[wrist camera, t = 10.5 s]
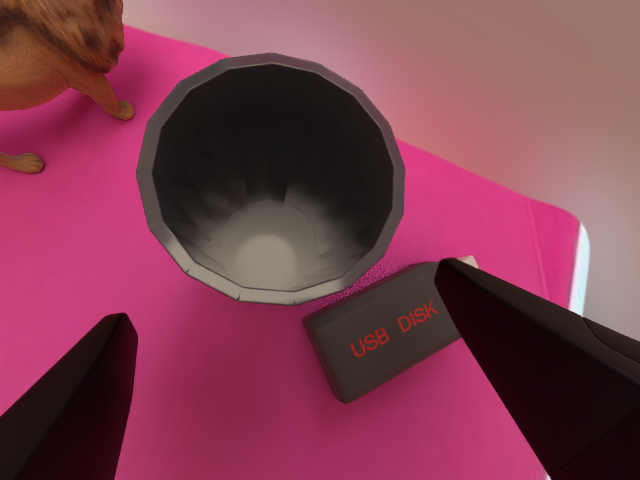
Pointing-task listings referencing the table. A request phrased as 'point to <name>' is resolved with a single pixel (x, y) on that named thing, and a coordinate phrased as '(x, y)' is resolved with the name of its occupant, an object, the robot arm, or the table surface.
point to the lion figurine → (58, 57)
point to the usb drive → (381, 330)
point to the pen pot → (271, 179)
